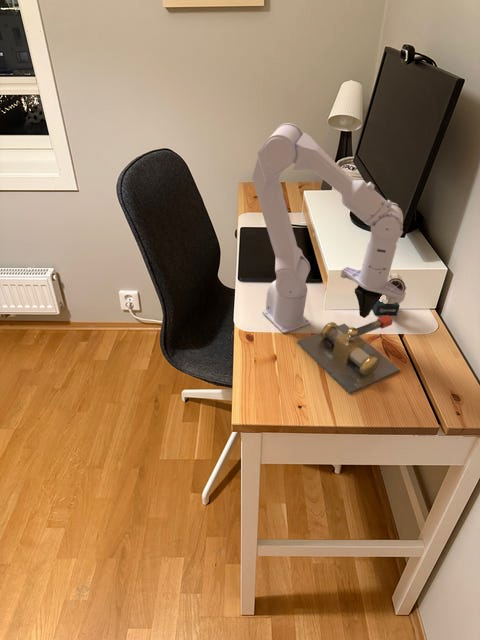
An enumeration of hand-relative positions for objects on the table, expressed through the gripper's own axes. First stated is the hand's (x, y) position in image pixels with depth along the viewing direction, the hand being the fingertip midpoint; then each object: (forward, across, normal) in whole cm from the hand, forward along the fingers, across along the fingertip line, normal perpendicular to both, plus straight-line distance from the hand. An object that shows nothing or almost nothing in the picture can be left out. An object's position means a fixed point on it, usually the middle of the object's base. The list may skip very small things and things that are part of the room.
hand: (364, 315), depth 103 cm
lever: (+1, -4, +4) cm, 5 cm away
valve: (+6, -2, +9) cm, 11 cm away
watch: (+6, +1, -13) cm, 14 cm away
